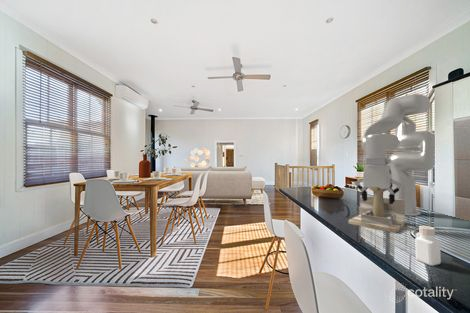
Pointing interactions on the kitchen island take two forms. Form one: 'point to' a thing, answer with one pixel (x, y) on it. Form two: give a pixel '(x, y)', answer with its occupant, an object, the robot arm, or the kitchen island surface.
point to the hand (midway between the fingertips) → (377, 202)
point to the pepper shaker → (427, 246)
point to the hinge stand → (389, 222)
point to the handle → (378, 201)
